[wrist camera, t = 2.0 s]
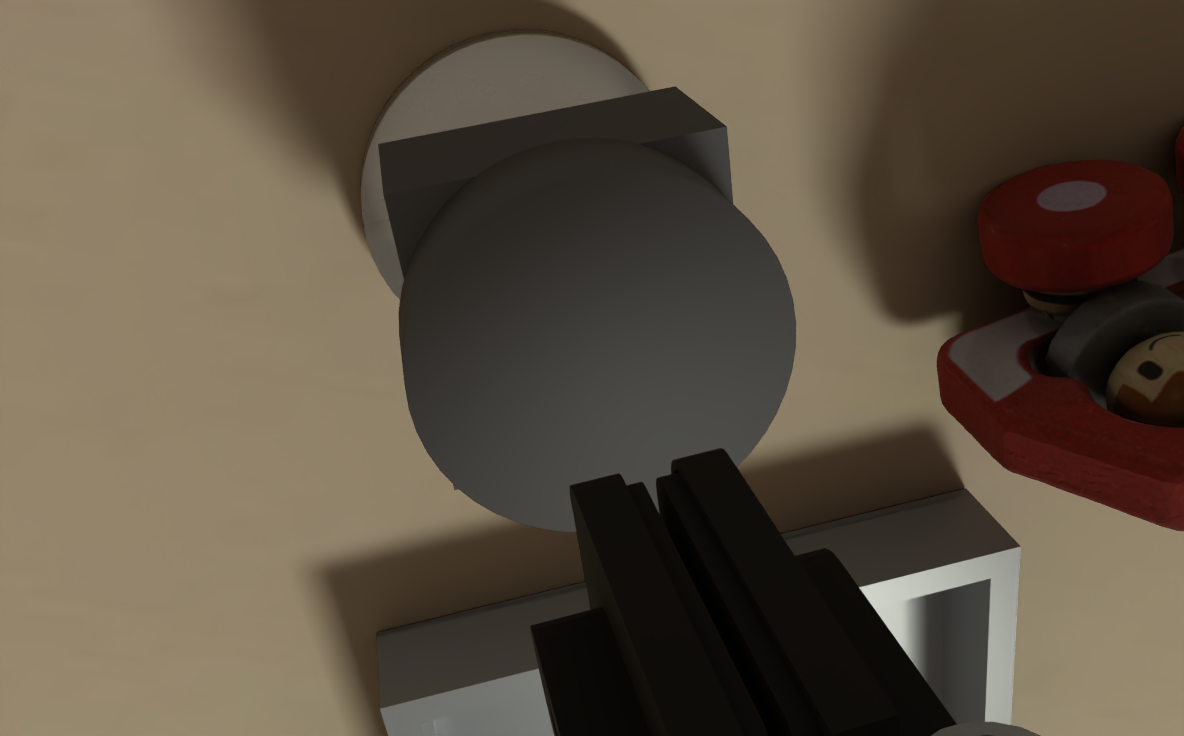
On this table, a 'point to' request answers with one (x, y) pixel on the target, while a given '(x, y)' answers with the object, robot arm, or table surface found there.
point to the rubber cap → (582, 300)
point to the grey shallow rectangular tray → (862, 543)
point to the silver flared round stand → (482, 104)
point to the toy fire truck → (1081, 337)
